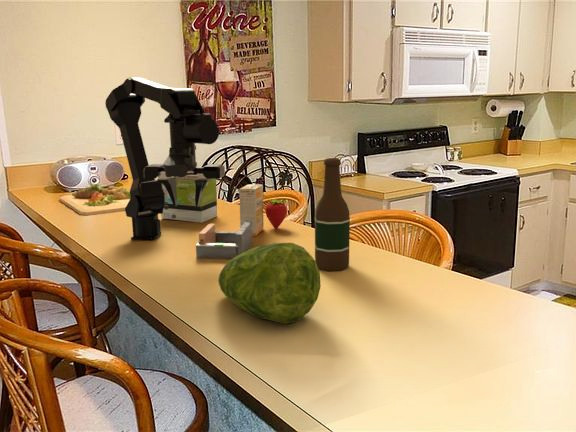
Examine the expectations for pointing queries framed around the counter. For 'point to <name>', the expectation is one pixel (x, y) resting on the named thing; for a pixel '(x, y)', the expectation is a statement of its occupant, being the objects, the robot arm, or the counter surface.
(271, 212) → the strawberry
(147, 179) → the robot arm
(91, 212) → the cutting board
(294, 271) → the lettuce
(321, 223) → the beer bottle
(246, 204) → the supplement box
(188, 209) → the tea box
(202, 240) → the long salmon pink beam
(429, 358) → the counter surface
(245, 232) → the gauge frame
